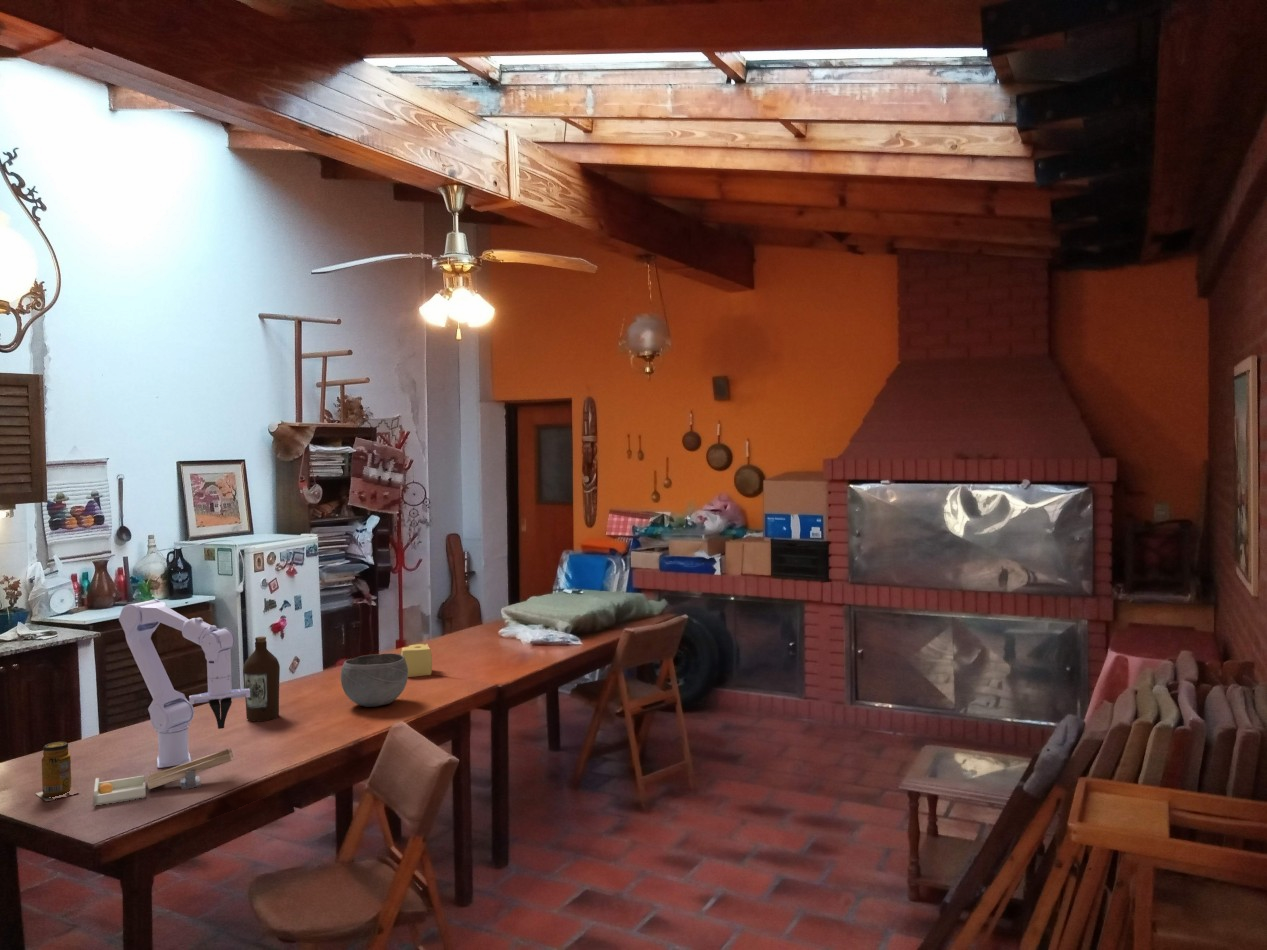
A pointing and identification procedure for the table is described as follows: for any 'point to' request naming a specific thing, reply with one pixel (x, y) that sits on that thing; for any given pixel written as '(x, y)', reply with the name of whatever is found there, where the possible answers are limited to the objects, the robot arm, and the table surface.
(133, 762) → the table surface
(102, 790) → the ball
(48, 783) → the condiment
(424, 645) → the cheese
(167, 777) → the lever
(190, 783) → the pivot
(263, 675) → the olive oil
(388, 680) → the bowl
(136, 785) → the dish
